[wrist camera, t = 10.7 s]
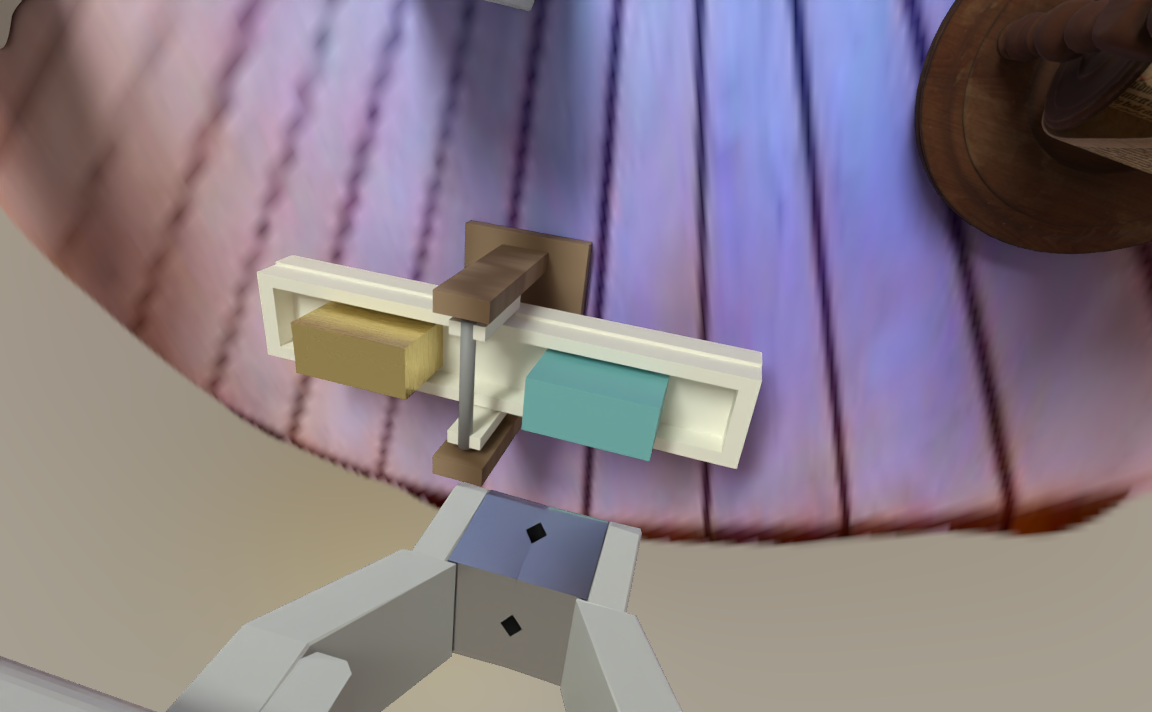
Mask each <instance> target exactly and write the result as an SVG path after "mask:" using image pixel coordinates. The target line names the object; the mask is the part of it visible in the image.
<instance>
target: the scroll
mask: <svg viewBox="0 0 1152 712" xmlns="http://www.w3.org/2000/svg"><path fill="white" fill-rule="evenodd" d="M915 131H916V141H917V145H918V150H919V155H920V158H921V161H922V164H923V167H924V169H925V172H926V174H927V176H928V178H929V180H930V182H931V184H932V185H933V187H934V188H935V190H936V191H937V193H938V194H939V196H940V197H941V198H942V199H943V201H944V202H945V203H946V204H947V205H948V206H949V207H950V208H951V209H952V210H953V211H954V212H955V213H956V214H957V215H958V216H960V217H961V218H962V219H964V220H965V221H966V222H968V223H969V224H971V225H972V226H974V227H975V228H977V229H979V230H980V231H982V232H984V233H986V234H987V235H989V236H991V237H993V238H996V239H998V240H1000V241H1002V242H1005V243H1008V244H1011V245H1014V246H1017V247H1020V248H1025V249H1029V250H1034V251H1040V252H1048V253H1060V254H1083V253H1096V252H1105V251H1111V250H1117V249H1122V248H1127V247H1131V246H1135V245H1139V244H1143V243H1146V242H1150V241H1152V0H955V2H954V3H953V5H952V6H951V8H950V10H949V11H948V13H947V14H946V16H945V18H944V19H943V21H942V23H941V25H940V27H939V29H938V31H937V33H936V35H935V37H934V39H933V41H932V43H931V46H930V48H929V51H928V53H927V56H926V59H925V62H924V65H923V68H922V72H921V75H920V80H919V84H918V89H917V96H916V105H915Z"/></svg>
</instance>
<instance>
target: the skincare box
mask: <svg viewBox="0 0 1152 712" xmlns="http://www.w3.org/2000/svg"><path fill="white" fill-rule="evenodd" d="M485 1H489V2H493V3H498V4H501V5H505V6H509V7H513V8H517V9H522V10H525V11H531V9H532V7H533V4H534V1H535V0H485Z"/></svg>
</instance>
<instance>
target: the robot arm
mask: <svg viewBox="0 0 1152 712" xmlns="http://www.w3.org/2000/svg"><path fill="white" fill-rule="evenodd" d="M21 1H22V0H0V49H1V48H3V47H4V46H5V44H6V42H7V40H8V36H9V31H10V25H11V18H12V14H13V12H14V10H15V9H16V7H17V6H18V5H19V4H20V2H21ZM641 535H642V533H641V529H639V528H635V527H631V526H627V525H623V524H619V523H615V522H611V521H610V523H609V522H608V521H605V520H601V519H597V518H593V517H589V516H585V515H581V514H577V513H573V512H569V511H565V510H562V509H558V508H554V507H549V506H546V505H542V504H539V503H536V502H532V501H529V500H525V499H522V498H518V497H515V496H511V495H508V494H505V493H501V492H498V491H494V490H488V489H485V488H481V487H478V486H475V485H471V484H468V483H464V482H461V483H460V484H458V485H457V486H456V487H455V488H454V489H453V491H452V492H451V493H450V495H449V496H448V498H447V499H446V501H445V502H444V504H443V505H442V507H441V508H440V510H439V511H438V513H437V514H436V516H435V517H434V519H433V520H432V522H431V523H430V524H429V526H428V527H427V529H426V530H425V532H424V533H423V535H422V536H421V538H420V539H419V541H418V542H417V544H416V545H415V547H414V548H413V550H412V551H409V550H405V549H401V550H399V551H397V552H395V553H393V554H391V555H388V556H386V557H384V558H382V559H380V560H378V561H376V562H374V563H372V564H369V565H368V566H365V567H363V568H361V569H359V570H357V571H355V572H353V573H350V574H348V575H347V576H344V577H342V578H340V579H338V580H336V581H334V582H332V583H330V584H327V585H325V586H323V587H321V588H319V589H317V590H315V591H313V592H311V593H309V594H307V595H304V596H302V597H300V598H298V599H296V600H294V601H292V602H290V603H288V604H286V605H283V606H281V607H279V608H277V609H275V610H273V611H271V612H269V613H267V614H265V615H262V616H260V617H259V618H256V619H254V620H252V621H250V622H248V623H246V624H244V625H243V626H242V627H241V628H240V629H239V631H238V632H237V633H236V634H235V635H234V636H233V637H232V638H231V639H230V640H229V642H228V643H227V644H226V645H225V646H224V647H223V648H222V649H221V651H220V652H219V653H218V654H217V655H216V656H215V657H214V658H213V659H212V661H211V662H210V663H209V664H208V665H207V666H206V667H205V669H203V671H202V672H201V673H200V674H199V675H198V676H197V677H196V678H195V680H194V681H193V682H192V683H191V684H190V685H189V686H188V687H187V688H186V690H185V691H184V692H183V693H182V694H181V695H180V696H179V697H178V699H177V700H176V701H175V702H174V703H173V704H172V705H171V706H170V708H169V709H168V710H167V711H166V712H381V711H382V710H384V709H385V708H386V707H387V706H389V705H390V704H391V703H393V702H394V701H395V700H396V699H398V698H399V697H400V696H401V695H403V694H404V693H405V692H407V691H408V690H409V689H410V688H412V687H413V686H414V685H416V684H417V683H418V682H419V681H421V680H422V679H423V678H424V677H426V676H427V675H428V674H429V673H431V672H432V671H433V670H434V669H436V668H437V667H439V666H440V665H441V664H442V663H444V662H445V661H446V660H447V659H449V658H450V657H451V656H452V653H456V654H460V655H464V656H467V657H470V658H474V659H478V660H481V661H485V662H489V663H492V664H496V665H499V666H503V667H506V668H509V669H512V670H515V671H518V672H521V673H524V674H527V675H530V676H533V677H536V678H538V679H541V680H544V681H547V682H550V683H553V684H556V685H559V686H561V688H560V690H561V694H562V698H563V702H564V706H565V710H566V712H682V710H681V708H680V706H679V704H678V701H677V700H676V697H675V695H674V693H673V691H672V689H671V687H670V685H669V683H668V681H667V679H666V676H665V675H664V672H663V670H662V668H661V666H660V664H659V662H658V660H657V658H656V656H655V654H654V652H653V650H652V647H651V645H650V643H649V641H648V639H647V637H646V635H645V633H644V631H643V629H642V627H641V625H640V623H639V620H638V618H637V616H635V615H632V614H629V613H626V612H627V607H628V602H629V597H630V592H631V587H632V581H633V576H634V571H635V566H636V561H637V555H638V550H639V545H640V540H641ZM0 712H156V711H153V710H150V709H147V708H144V707H142V706H139V705H136V704H133V703H130V702H127V701H125V700H122V699H119V698H116V697H113V696H111V695H108V694H105V693H102V692H100V691H97V690H94V689H91V688H88V687H85V686H83V685H80V684H77V683H74V682H71V681H69V680H66V679H63V678H60V677H58V676H55V675H52V674H49V673H46V672H43V671H41V670H38V669H35V668H32V667H30V666H27V665H24V664H21V663H18V662H16V661H13V660H10V659H7V658H4V657H1V656H0Z"/></svg>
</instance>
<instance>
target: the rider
mask: <svg viewBox="0 0 1152 712" xmlns="http://www.w3.org/2000/svg"><path fill="white" fill-rule="evenodd" d="M669 377H670V375H667V374H662V373H658V372H653V371H649V370H644V369H640V368H635V367H631V366H626V365H622V364H617V363H612V362H608V361H603V360H599V359H594V358H590V357H585V356H581V355H576V354H572V353H567V352H563V351H558V350H553V349H549V348H548V349H547V350H546V351H545V353H544V354H543V355H542V357H541V358H540V359H539V361H538V362H537V363H536V365H535V366H534V367H533V369H532V370H531V371H530V373H529V374H528V375H527V377H526V380H525V392H524V404H523V416H522V428H521V430H525V431H529V432H533V433H537V434H541V435H545V436H549V437H553V438H557V439H561V440H565V441H569V442H573V443H577V444H581V445H585V446H589V447H593V448H597V449H601V450H605V451H609V452H613V453H617V454H621V455H625V456H629V457H633V458H637V459H641V460H645V461H650V458H651V454H652V450H653V446H654V443H655V439H656V435H657V431H658V428H659V424H660V420H661V416H662V411H663V406H664V401H665V397H666V392H667V387H668V382H669Z"/></svg>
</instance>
